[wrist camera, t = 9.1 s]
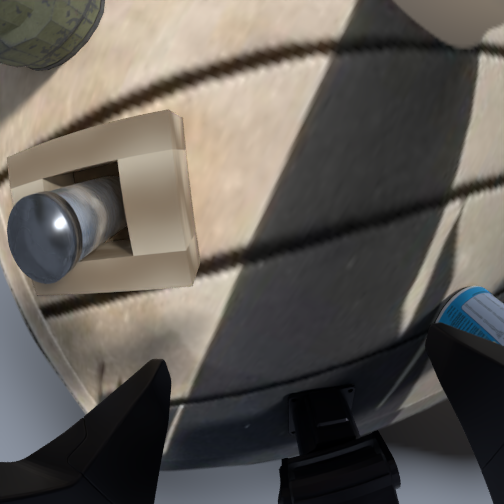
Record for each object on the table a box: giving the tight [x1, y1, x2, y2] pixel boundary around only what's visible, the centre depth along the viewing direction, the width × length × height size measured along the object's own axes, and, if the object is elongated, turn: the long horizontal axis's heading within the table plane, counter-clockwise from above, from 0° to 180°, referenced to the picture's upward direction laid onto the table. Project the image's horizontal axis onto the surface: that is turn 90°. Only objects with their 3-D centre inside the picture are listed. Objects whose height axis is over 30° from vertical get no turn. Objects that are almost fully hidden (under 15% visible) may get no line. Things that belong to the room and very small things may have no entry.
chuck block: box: [7, 110, 200, 296], centre depth 17 cm, size 10×12×4 cm
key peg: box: [7, 176, 127, 284], centre depth 15 cm, size 4×4×9 cm
